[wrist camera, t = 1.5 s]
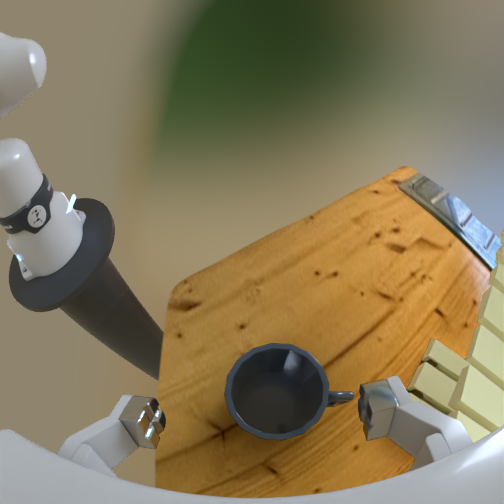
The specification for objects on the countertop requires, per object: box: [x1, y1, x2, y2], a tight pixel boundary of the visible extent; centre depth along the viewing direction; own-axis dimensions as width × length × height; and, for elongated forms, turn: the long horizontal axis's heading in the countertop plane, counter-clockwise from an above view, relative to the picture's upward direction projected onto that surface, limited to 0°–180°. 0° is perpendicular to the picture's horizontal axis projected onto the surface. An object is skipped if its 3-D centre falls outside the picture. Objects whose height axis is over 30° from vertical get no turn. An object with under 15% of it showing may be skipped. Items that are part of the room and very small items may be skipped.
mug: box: [224, 343, 354, 440], centre depth 23 cm, size 11×8×10 cm
